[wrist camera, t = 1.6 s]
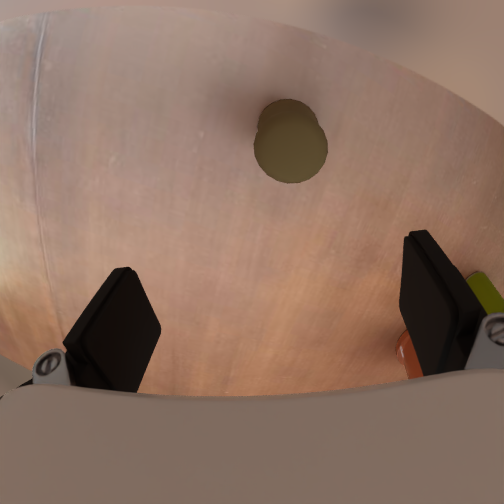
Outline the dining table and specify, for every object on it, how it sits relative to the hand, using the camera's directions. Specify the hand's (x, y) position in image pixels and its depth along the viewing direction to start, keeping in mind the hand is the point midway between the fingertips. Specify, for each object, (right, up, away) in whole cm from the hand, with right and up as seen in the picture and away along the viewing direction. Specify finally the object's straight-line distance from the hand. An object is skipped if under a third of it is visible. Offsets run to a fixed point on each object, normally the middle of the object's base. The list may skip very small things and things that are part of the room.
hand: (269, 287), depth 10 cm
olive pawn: (+3, +13, +19) cm, 23 cm away
